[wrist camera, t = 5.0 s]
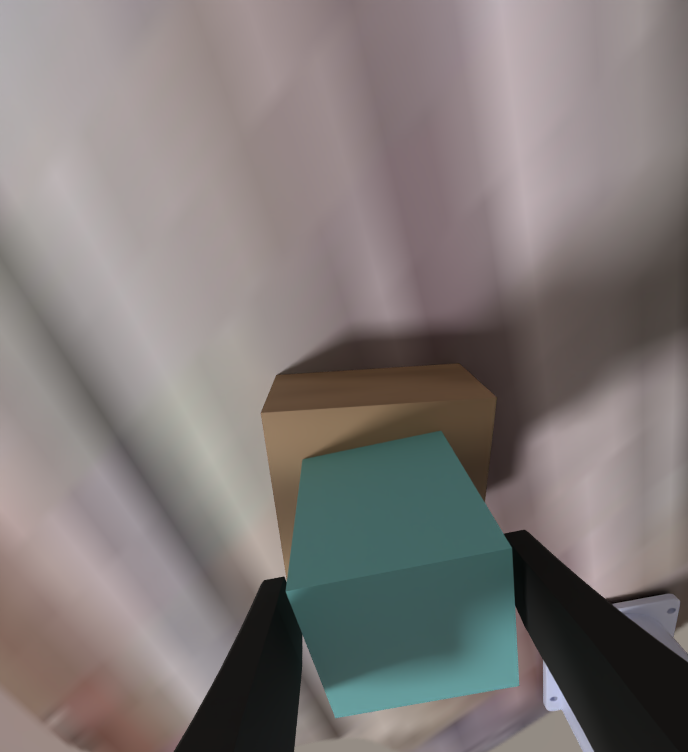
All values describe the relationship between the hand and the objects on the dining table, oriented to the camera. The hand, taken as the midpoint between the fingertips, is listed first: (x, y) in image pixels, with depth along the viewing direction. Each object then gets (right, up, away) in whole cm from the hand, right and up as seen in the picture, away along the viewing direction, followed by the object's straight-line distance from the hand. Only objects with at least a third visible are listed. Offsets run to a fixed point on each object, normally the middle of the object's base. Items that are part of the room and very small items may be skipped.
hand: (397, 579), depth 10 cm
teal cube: (0, +1, +3) cm, 3 cm away
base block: (0, +3, +7) cm, 7 cm away
